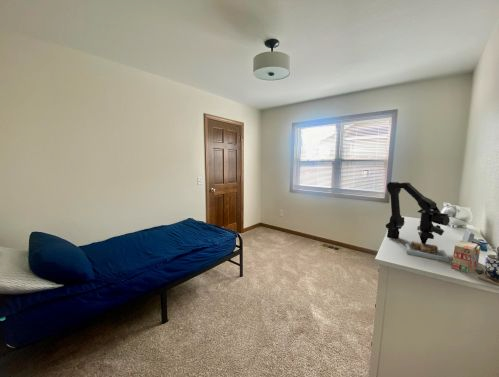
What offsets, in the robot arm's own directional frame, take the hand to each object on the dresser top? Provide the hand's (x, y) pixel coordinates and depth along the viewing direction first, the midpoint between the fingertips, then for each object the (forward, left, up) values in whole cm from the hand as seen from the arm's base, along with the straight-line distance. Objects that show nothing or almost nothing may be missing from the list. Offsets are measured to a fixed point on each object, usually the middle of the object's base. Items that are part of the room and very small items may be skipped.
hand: (423, 245), depth 132 cm
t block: (0, -7, -2) cm, 7 cm away
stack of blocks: (+16, -17, -2) cm, 23 cm away
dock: (0, -10, -2) cm, 10 cm away
